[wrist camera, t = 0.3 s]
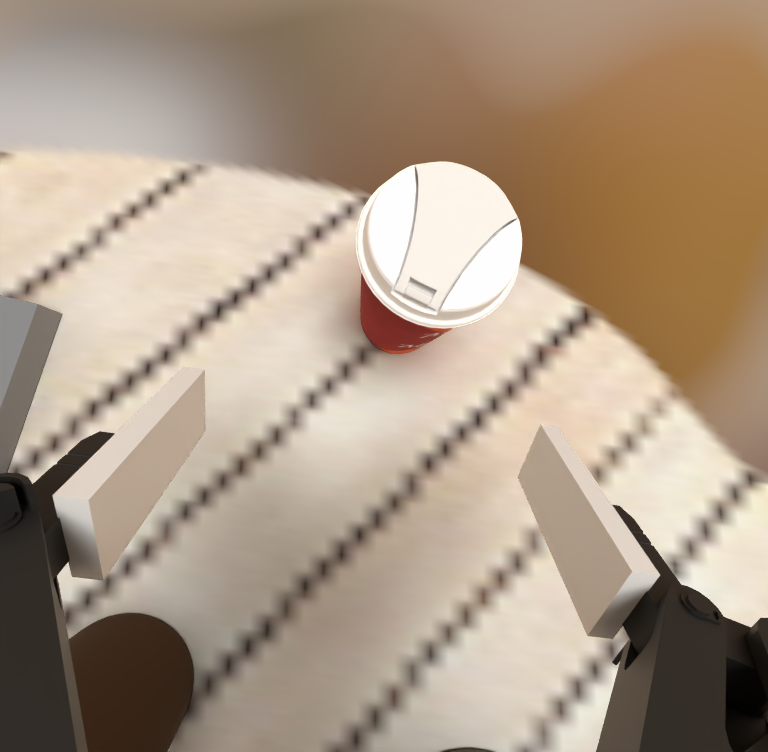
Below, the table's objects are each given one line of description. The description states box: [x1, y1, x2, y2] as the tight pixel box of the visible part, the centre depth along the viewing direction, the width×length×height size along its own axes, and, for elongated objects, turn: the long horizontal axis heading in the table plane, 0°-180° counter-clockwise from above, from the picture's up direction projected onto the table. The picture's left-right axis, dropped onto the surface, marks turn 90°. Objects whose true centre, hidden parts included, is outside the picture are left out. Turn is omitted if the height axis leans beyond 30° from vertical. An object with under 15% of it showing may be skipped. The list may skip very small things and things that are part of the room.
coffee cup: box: [356, 162, 522, 354], centre depth 26 cm, size 8×8×15 cm
